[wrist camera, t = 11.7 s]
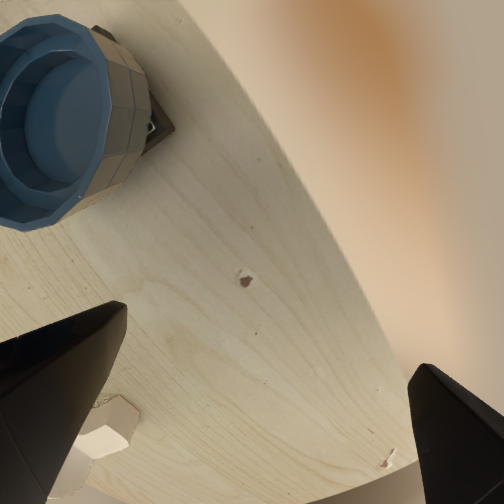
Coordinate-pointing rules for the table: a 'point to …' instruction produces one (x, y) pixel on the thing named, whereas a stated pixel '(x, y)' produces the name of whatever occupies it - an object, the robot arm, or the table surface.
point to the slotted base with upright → (96, 443)
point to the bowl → (65, 120)
